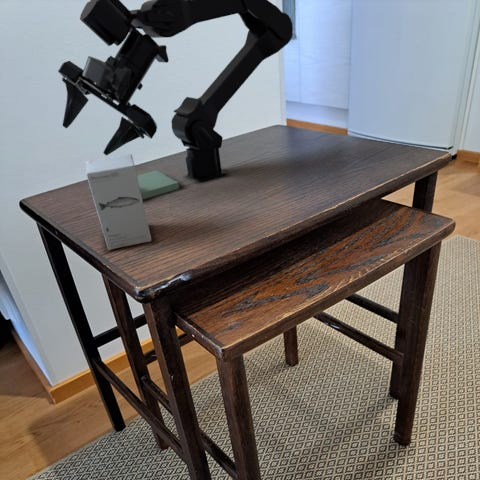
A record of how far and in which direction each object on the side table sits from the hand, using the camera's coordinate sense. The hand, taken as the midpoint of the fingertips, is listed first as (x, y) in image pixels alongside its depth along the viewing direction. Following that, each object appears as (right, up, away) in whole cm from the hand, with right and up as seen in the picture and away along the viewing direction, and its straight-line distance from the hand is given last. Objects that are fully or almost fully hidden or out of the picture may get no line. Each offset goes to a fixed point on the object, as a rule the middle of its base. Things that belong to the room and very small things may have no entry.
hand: (84, 140), depth 82 cm
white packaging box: (+10, -19, -6) cm, 23 cm away
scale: (+7, -5, +13) cm, 16 cm away
